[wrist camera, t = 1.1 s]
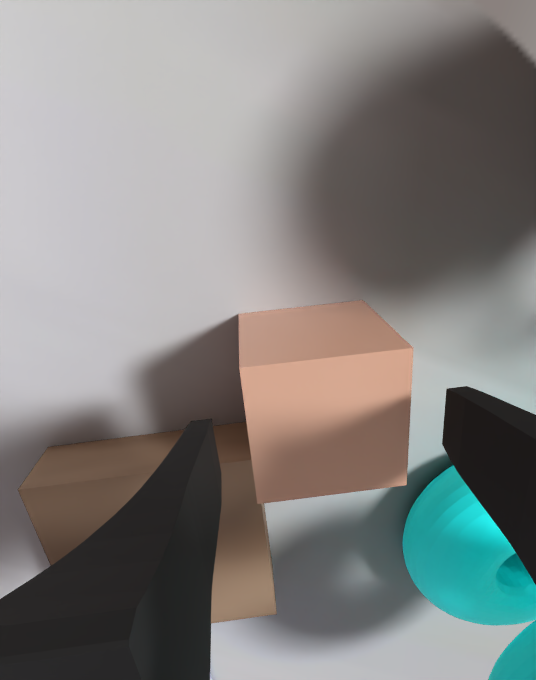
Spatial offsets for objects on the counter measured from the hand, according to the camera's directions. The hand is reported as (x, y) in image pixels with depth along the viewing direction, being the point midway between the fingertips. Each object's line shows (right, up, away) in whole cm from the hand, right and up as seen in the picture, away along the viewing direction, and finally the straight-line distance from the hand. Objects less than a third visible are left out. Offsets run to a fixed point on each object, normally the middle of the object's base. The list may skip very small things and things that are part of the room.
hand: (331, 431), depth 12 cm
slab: (-7, -5, +8) cm, 11 cm away
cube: (0, +2, +5) cm, 5 cm away
